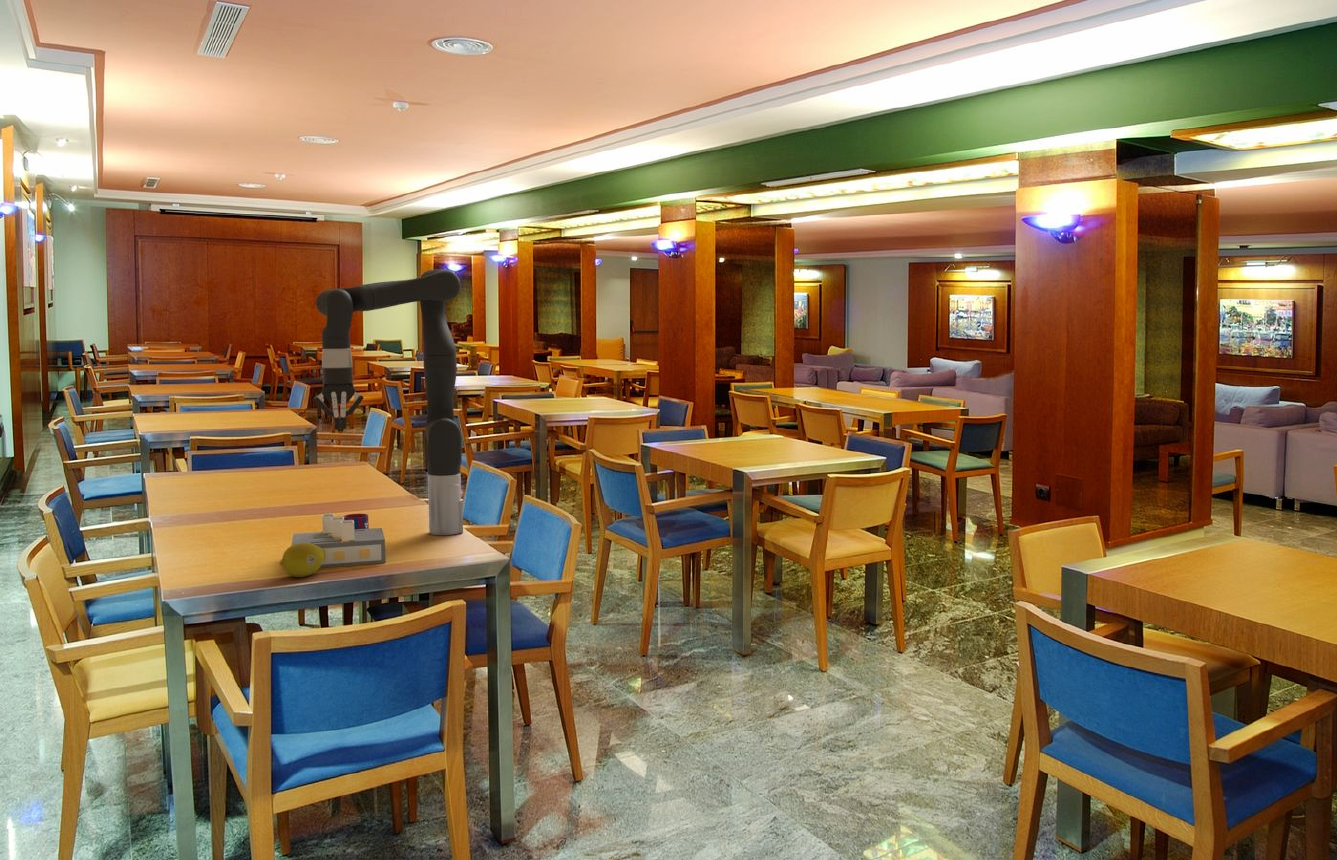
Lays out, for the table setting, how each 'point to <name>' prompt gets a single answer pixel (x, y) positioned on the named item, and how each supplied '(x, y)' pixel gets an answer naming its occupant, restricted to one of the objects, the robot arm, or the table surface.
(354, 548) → the console
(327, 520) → the slider far
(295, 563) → the lemon
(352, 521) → the slider near
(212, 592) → the table surface
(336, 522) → the slider mid
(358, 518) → the mug
